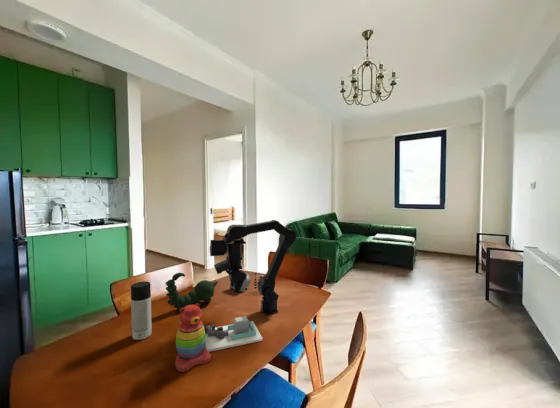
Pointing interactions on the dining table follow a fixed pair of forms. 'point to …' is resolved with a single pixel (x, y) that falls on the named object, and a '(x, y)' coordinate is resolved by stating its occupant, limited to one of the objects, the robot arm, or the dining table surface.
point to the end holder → (243, 335)
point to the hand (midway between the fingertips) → (234, 289)
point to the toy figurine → (200, 293)
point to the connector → (241, 325)
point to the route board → (226, 337)
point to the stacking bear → (191, 339)
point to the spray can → (141, 310)
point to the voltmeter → (246, 283)
